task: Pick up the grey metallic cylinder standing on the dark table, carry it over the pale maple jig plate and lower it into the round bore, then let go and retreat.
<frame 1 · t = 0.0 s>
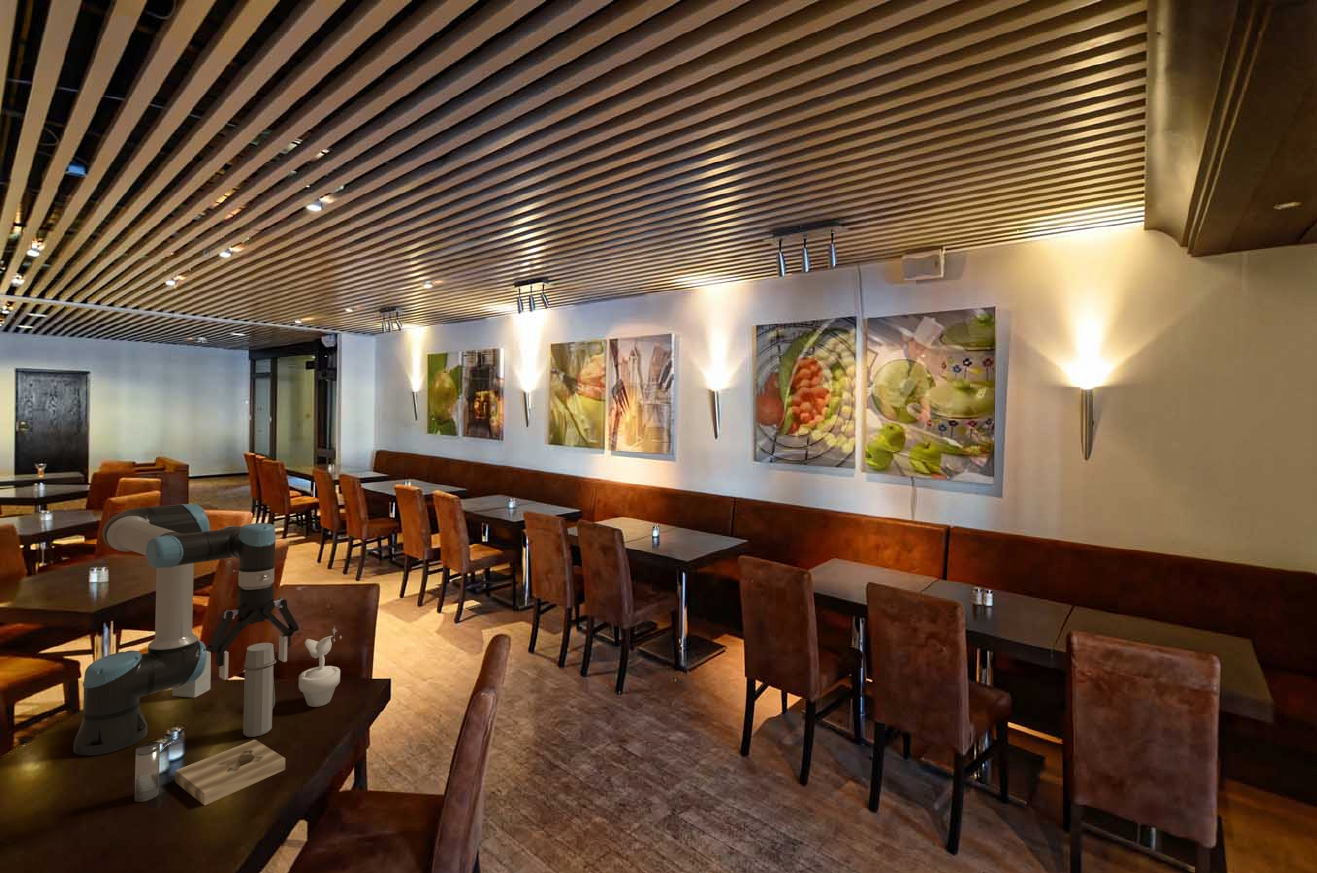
hand: (254, 669, 151), 28 cm above the table, fingers open, 13 cm apart
potted plant: (318, 703, 193), on the table
grey metallic cylinder: (146, 796, 143), on the table
jig: (231, 775, 152), on the table
water bottle: (260, 731, 175), on the table
small box: (191, 693, 196), on the table
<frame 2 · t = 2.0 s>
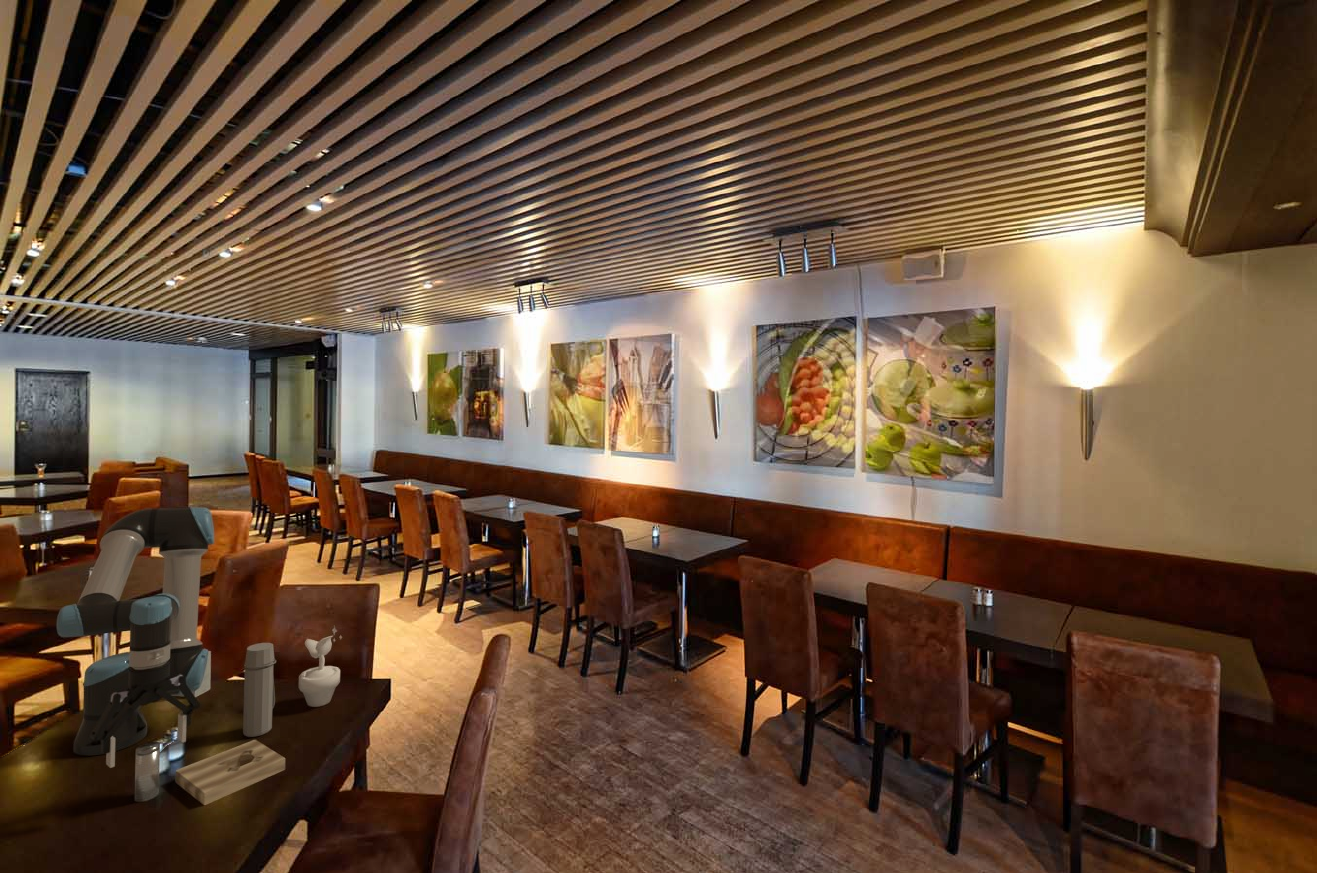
hand: (147, 752, 143), 11 cm above the table, fingers open, 13 cm apart
nothing on the table moved.
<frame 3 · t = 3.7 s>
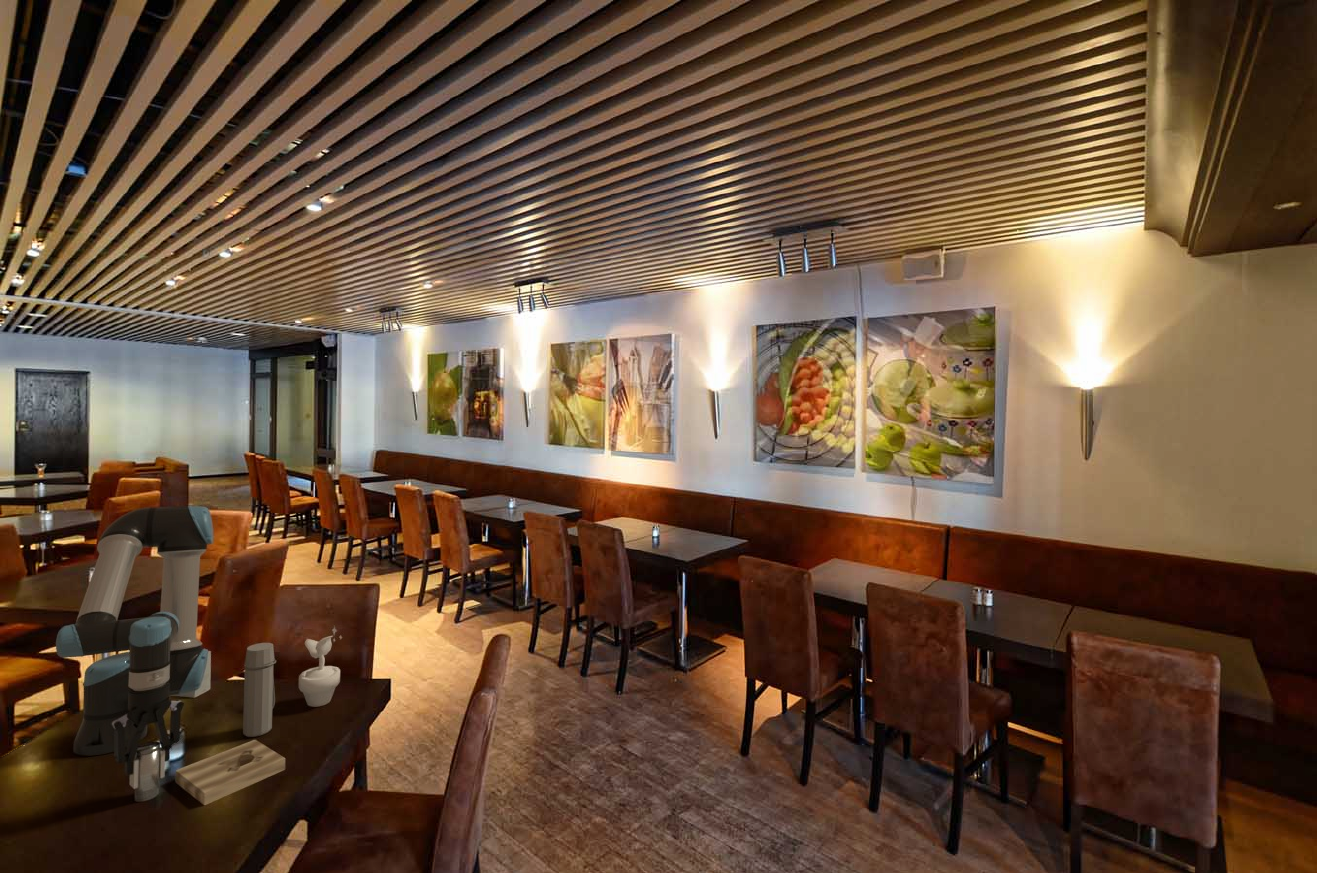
hand: (147, 780, 143), 4 cm above the table, fingers closed on grey metallic cylinder, 4 cm apart
grey metallic cylinder: (146, 795, 143), on the table, touching gripper
everything else where it was.
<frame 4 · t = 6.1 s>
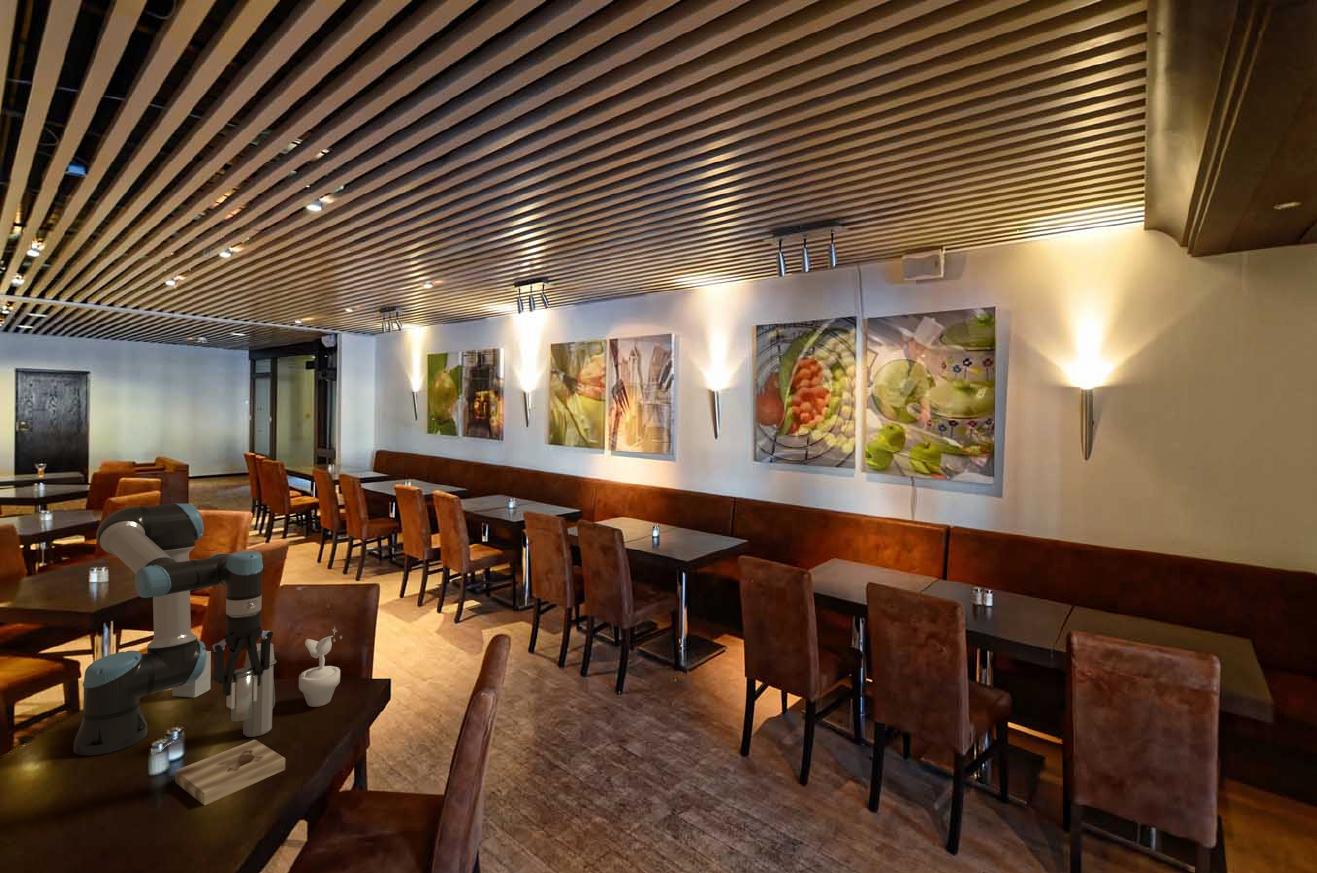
hand: (241, 703, 154), 18 cm above the table, fingers closed on grey metallic cylinder, 4 cm apart
grey metallic cylinder: (241, 717, 154), point 14 cm above the table, touching gripper
everything else where it was.
when the fingers open (5 cm above the table, at t = 8.8 s): grey metallic cylinder stays where it is, resting in jig.
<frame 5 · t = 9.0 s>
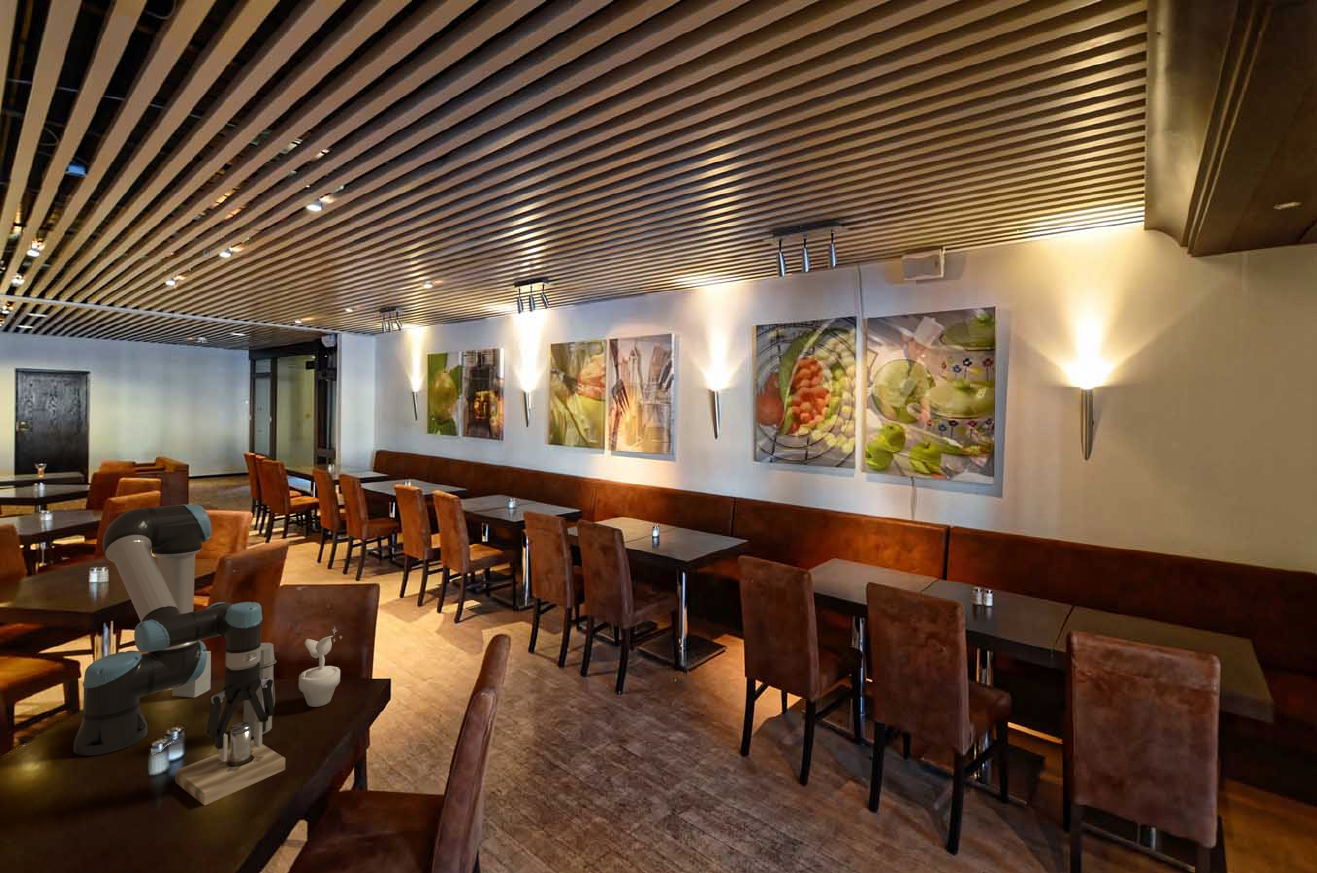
hand: (240, 752, 154), 5 cm above the table, fingers open, 7 cm apart
grey metallic cylinder: (240, 772, 154), resting in jig
everything else where it was.
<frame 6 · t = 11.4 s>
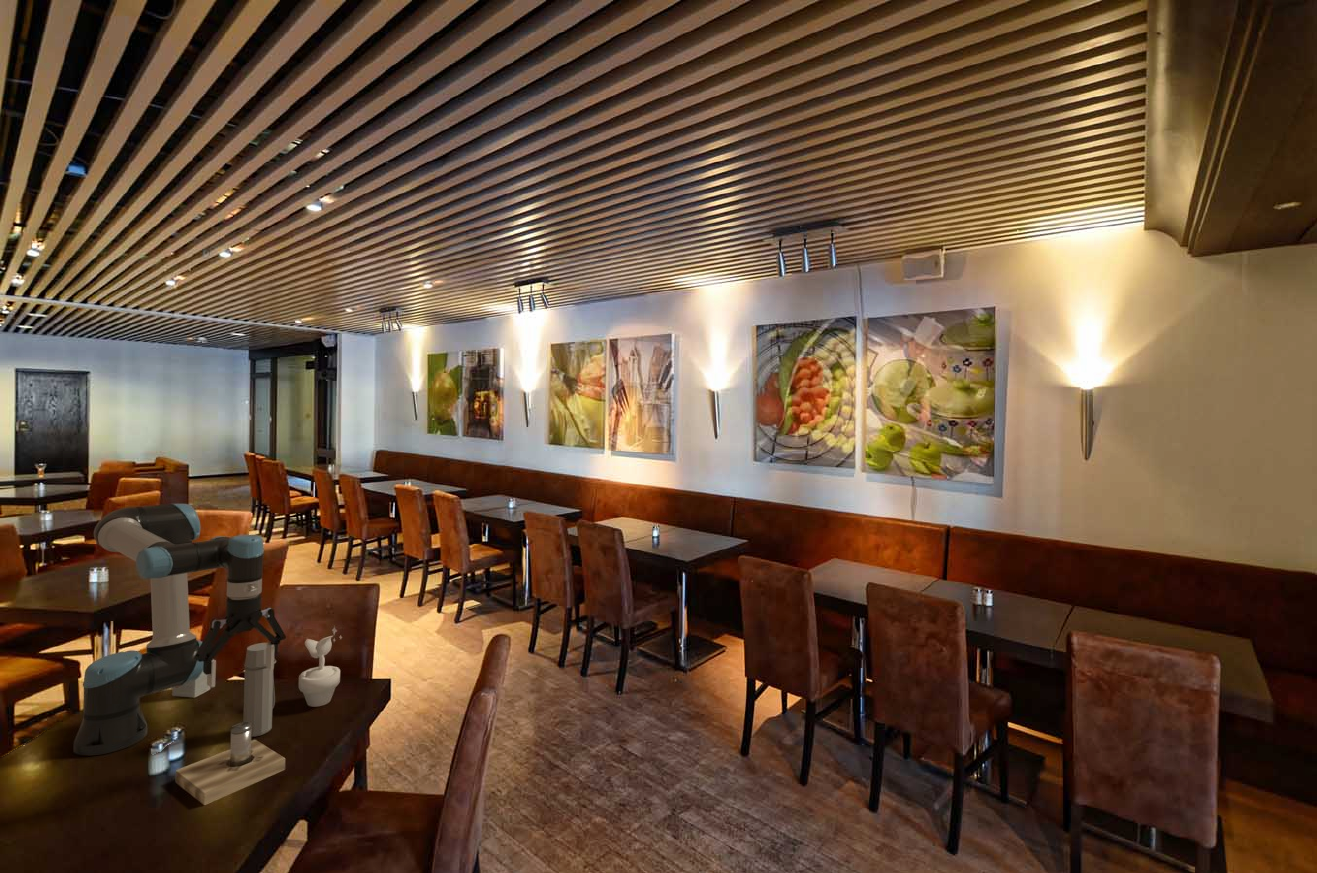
hand: (241, 676, 155), 24 cm above the table, fingers open, 13 cm apart
nothing on the table moved.
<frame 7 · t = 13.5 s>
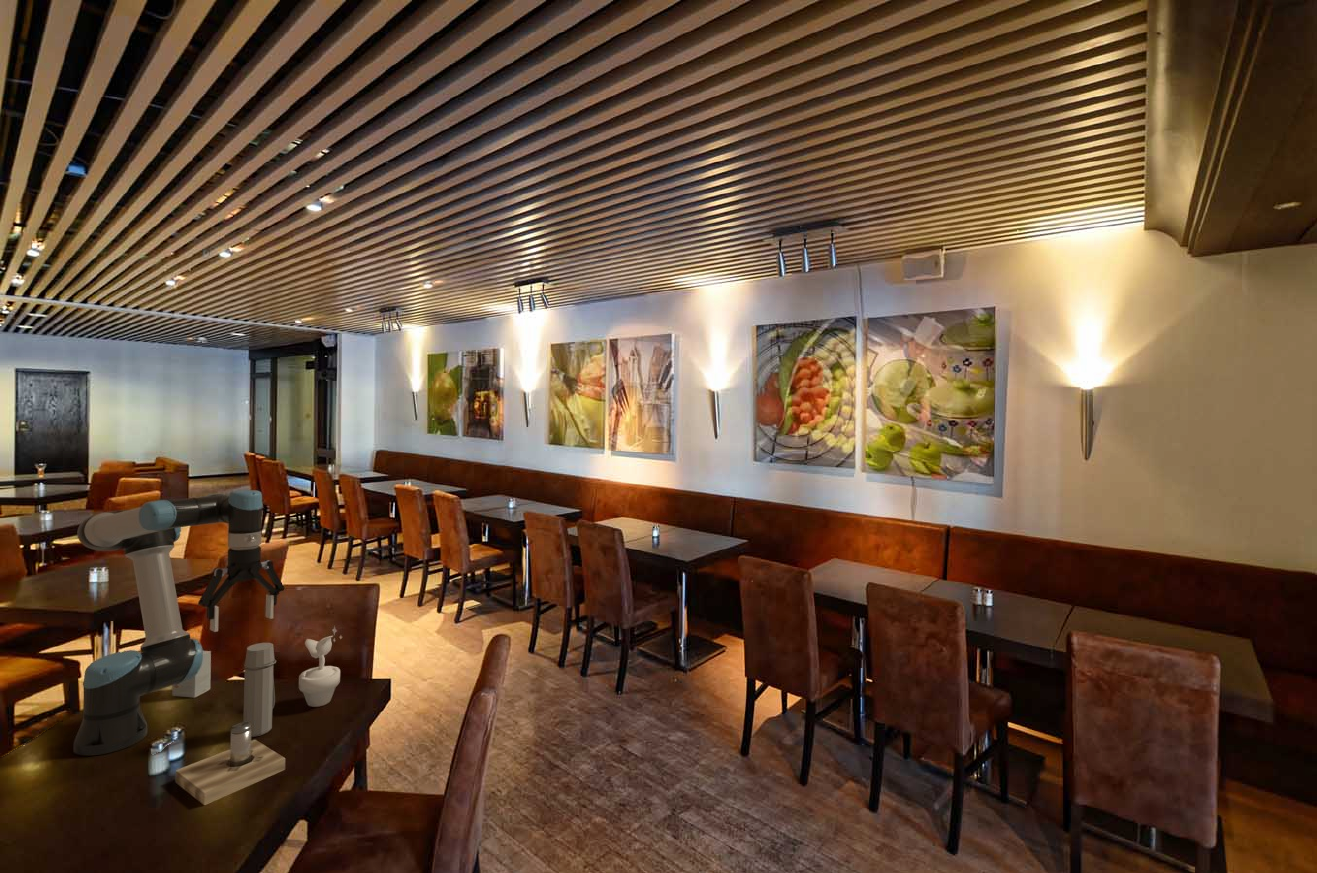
hand: (242, 624, 164), 35 cm above the table, fingers open, 13 cm apart
nothing on the table moved.
at the end: grey metallic cylinder 0.1 cm from the target spot on the jig, point 0.0 cm above the jig's base; grey metallic cylinder tilted 0°; the gripper is holding nothing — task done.
